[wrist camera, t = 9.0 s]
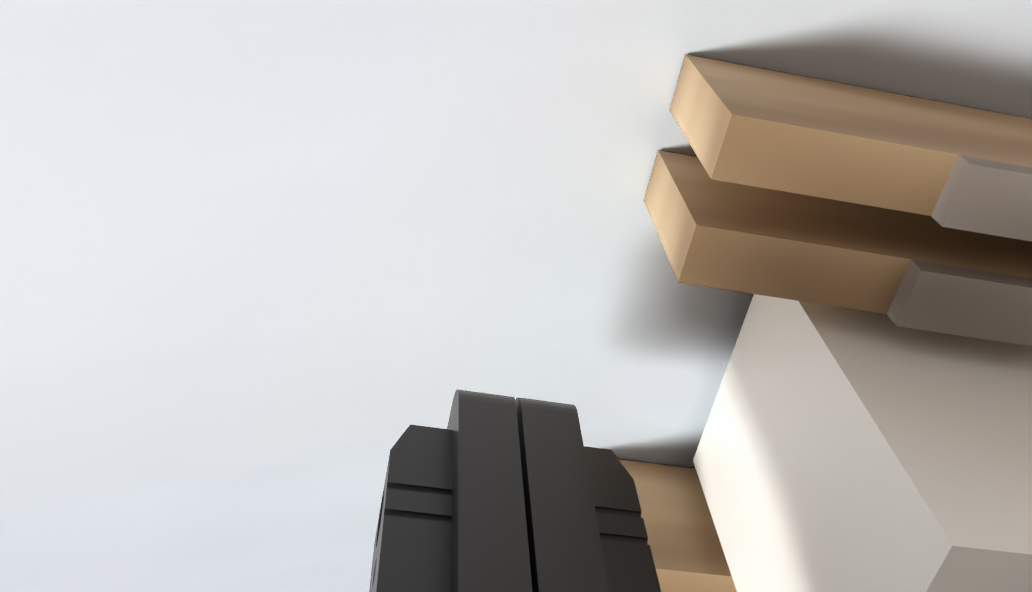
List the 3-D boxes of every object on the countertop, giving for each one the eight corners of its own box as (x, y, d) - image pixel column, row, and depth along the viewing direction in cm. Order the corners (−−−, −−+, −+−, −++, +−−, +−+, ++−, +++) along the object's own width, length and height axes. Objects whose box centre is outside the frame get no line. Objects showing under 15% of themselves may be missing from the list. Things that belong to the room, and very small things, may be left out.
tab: (768, 253, 14) (995, 613, 8) (1010, 292, 15) (1388, 653, 9) (692, 461, 16) (831, 873, 10) (909, 487, 16) (1161, 892, 11)
